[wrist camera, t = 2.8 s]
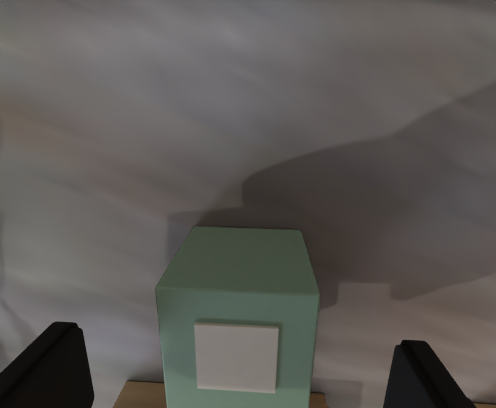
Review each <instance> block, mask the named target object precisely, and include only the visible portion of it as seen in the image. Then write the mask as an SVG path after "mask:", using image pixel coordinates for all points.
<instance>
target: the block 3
mask: <svg viewBox="0 0 496 408" xmlns="http://www.w3.org/2000/svg"><path fill="white" fill-rule="evenodd" d="M473 404H474V405H475V406H476V407H477V408H496V405H493V404H477V403H473Z"/></svg>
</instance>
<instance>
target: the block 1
mask: <svg viewBox="0 0 496 408" xmlns="http://www.w3.org/2000/svg"><path fill="white" fill-rule="evenodd" d="M113 408H168V407H167V403H166V393H165V383H151V382H135V381H126V383H125V385H124V387H123V389H122V391H121V393H120V395H119V397H118V399H117V401H116V403H115V405H114V406H113Z"/></svg>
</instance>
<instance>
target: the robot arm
mask: <svg viewBox="0 0 496 408" xmlns="http://www.w3.org/2000/svg"><path fill="white" fill-rule="evenodd" d="M93 401H94V390H93V385H92V379H91V374H90V369H89V363H88V358H87V352H86V347H85V341H84V336H83V331H82V329H81V328H79V327H78V325H77V324H76V323H73V322H54V323H52V324H51V325H50V326H49V327H48V328H47V329H46V330H45V331H44V332H43V333H42V334H41V335H40V336H38V337H37V338H36V339H35V340H34V341H33V342H32V343H31V344H30V345H29V346H28V347H27V348H26V349H25V350H24V351H23V352H22V353H21V354H20V355H19V356H18V357H17V358H16V359H15V360H14V361H13V362H12V363H11V364H10V365H9V366H8V367H6V368H5V369H4V370H3V371H2V372H1V373H0V408H91V407H92V404H93ZM383 408H477V407H476V406H475V405H474V404H473V402H472V401H471V400H470V399H468V398H467V397H466V396H465V394H464V393H463V392H462V390H461V389H460V387H459V386H458V385H457V383H456V382H455V380H454V379H453V378H452V376H451V375H450V373H449V372H448V371H447V369H446V368H445V367H444V365H443V364H442V362H441V361H440V360H439V358H438V357H437V355H436V354H435V353H434V351H433V350H432V348H431V347H430V346H429V344H428V343H427V342H425V341H417V340H403V341H402V342H401V344H400V345H396V346H395V349H394V355H393V360H392V365H391V370H390V375H389V380H388V385H387V390H386V395H385V400H384V405H383Z"/></svg>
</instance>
